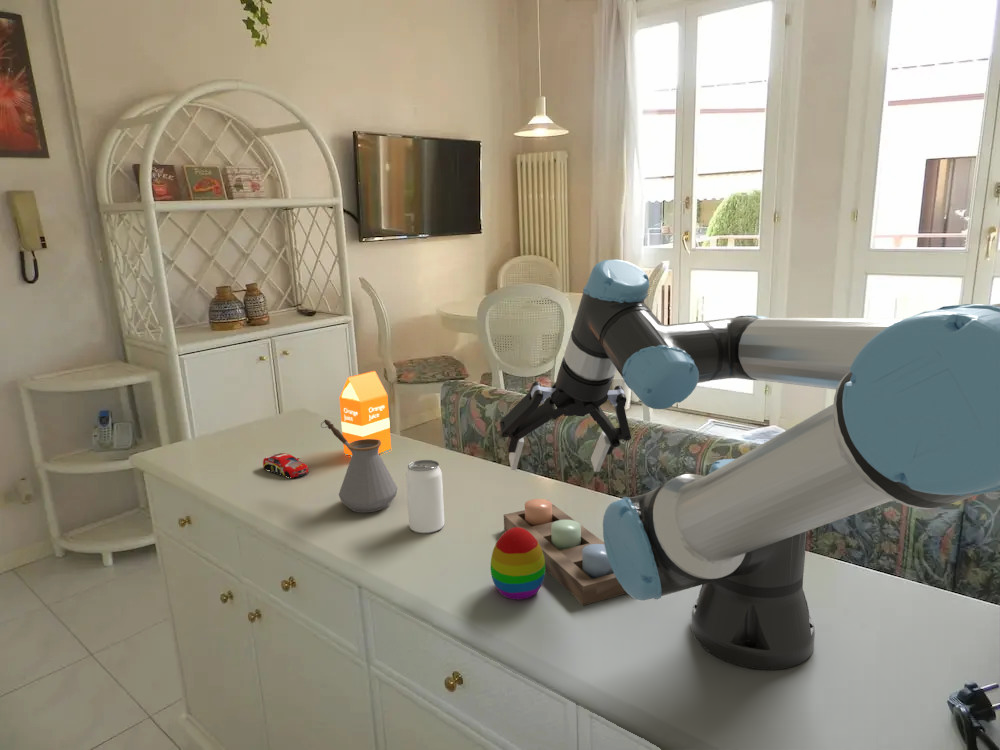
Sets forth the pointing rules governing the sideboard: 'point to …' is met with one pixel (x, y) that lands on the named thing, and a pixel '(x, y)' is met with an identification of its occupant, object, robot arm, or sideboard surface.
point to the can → (425, 496)
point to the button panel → (568, 559)
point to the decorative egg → (517, 564)
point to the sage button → (565, 534)
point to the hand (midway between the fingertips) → (554, 464)
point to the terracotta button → (538, 512)
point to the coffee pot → (365, 476)
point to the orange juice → (365, 411)
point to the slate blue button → (595, 561)
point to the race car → (285, 465)
